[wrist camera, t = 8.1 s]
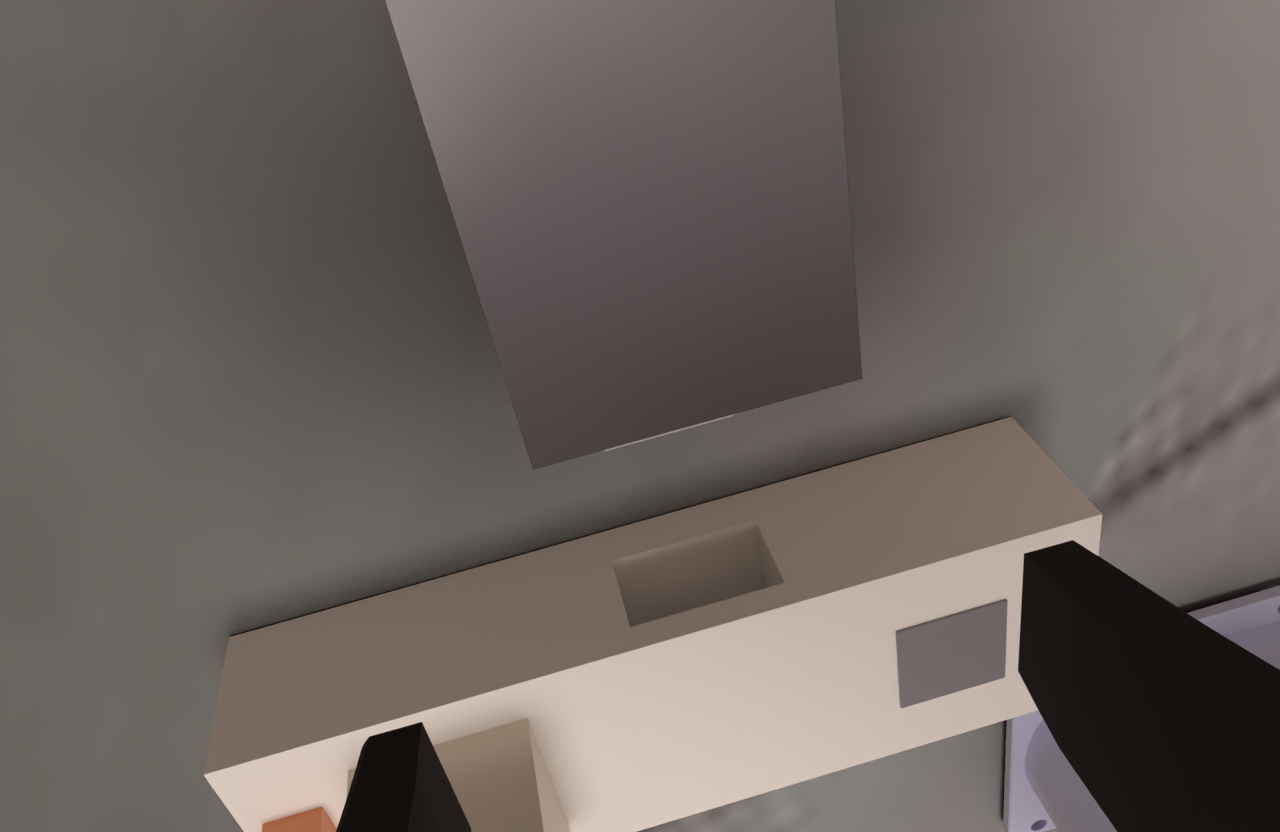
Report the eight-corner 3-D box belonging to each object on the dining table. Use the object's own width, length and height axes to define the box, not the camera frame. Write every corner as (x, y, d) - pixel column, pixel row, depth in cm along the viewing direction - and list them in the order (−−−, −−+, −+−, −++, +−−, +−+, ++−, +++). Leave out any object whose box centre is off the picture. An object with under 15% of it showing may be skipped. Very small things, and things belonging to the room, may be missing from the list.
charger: (675, -164, 15) (826, -121, 10) (747, 329, 20) (873, 534, 15) (384, -95, 15) (381, -12, 10) (529, 388, 20) (580, 618, 15)
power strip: (1011, 416, 23) (1120, 532, 20) (1006, 590, 26) (1098, 716, 23) (229, 637, 22) (198, 802, 18) (322, 790, 25) (311, 956, 22)
